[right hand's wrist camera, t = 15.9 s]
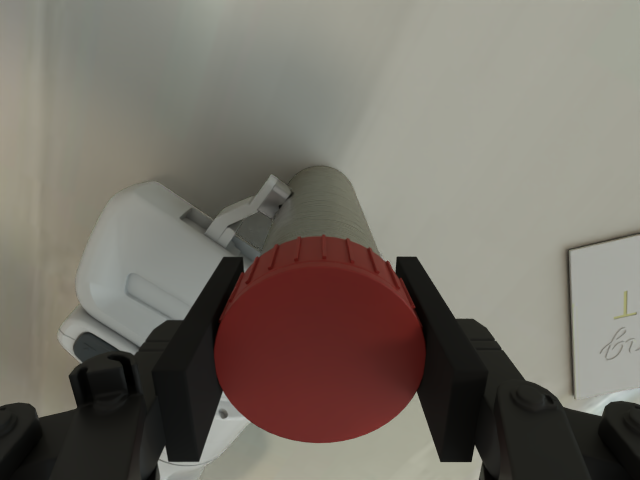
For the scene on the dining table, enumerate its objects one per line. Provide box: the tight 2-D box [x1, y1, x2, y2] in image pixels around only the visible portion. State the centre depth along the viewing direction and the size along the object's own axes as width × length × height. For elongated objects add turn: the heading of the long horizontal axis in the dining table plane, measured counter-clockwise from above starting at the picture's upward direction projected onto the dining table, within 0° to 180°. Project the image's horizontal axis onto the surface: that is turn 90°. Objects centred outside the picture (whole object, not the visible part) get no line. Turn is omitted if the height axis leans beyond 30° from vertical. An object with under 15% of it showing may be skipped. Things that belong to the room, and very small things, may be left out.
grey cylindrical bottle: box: [259, 166, 381, 257], centre depth 19 cm, size 5×5×18 cm
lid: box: [214, 234, 426, 443], centre depth 12 cm, size 6×6×2 cm
